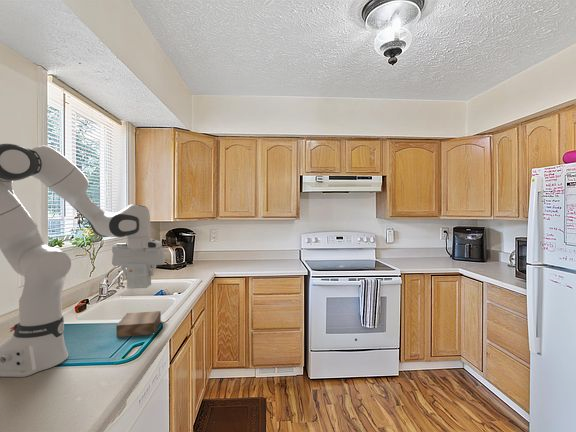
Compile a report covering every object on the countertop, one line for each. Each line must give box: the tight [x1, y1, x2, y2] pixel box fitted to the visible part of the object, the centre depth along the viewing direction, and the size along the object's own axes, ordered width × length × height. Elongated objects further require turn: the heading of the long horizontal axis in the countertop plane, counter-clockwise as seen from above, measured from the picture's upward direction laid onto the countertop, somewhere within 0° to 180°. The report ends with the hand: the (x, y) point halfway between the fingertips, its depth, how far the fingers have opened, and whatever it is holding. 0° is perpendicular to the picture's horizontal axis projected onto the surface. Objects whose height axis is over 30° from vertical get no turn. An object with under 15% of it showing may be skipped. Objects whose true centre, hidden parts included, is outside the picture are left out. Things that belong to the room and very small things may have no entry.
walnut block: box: [115, 310, 162, 338], centre depth 131 cm, size 14×14×5 cm
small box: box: [126, 263, 152, 290], centre depth 130 cm, size 8×6×10 cm
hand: (139, 275), depth 130 cm, fingers closed on small box, 8 cm apart
